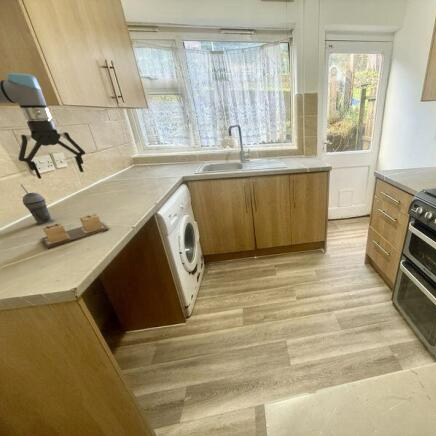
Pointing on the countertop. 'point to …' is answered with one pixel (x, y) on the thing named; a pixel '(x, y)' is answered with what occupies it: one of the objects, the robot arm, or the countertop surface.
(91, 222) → the tan wooden cube
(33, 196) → the beverage cup
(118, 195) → the countertop surface
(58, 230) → the tan toy block
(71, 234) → the word board
